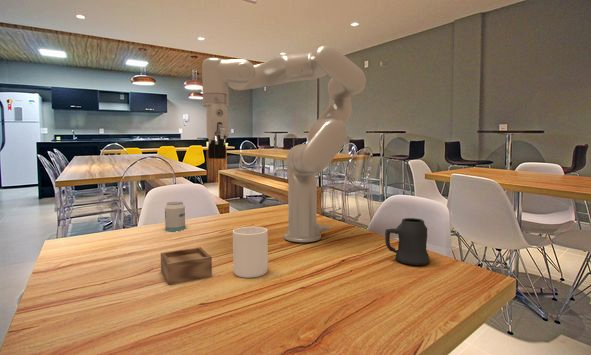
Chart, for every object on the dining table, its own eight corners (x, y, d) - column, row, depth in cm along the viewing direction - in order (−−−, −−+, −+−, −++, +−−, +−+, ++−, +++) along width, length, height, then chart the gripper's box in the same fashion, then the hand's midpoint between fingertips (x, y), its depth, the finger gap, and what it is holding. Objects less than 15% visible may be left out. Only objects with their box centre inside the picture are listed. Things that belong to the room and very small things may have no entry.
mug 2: (422, 254, 98) (423, 217, 97) (434, 264, 89) (436, 223, 88) (381, 254, 98) (382, 216, 97) (389, 264, 89) (390, 223, 88)
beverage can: (181, 237, 120) (180, 204, 119) (162, 237, 120) (161, 204, 119) (188, 232, 127) (187, 201, 126) (170, 232, 127) (169, 201, 126)
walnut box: (200, 266, 89) (200, 247, 89) (211, 278, 81) (211, 257, 80) (161, 273, 84) (160, 252, 84) (168, 286, 75) (167, 263, 75)
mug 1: (273, 263, 91) (273, 224, 90) (263, 279, 79) (263, 234, 78) (242, 262, 92) (242, 223, 91) (228, 277, 80) (227, 233, 79)
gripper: (235, 98, 94) (236, 158, 95) (221, 106, 110) (222, 158, 111) (208, 96, 91) (209, 158, 92) (198, 104, 107) (199, 158, 108)
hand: (216, 158), depth 101 cm, fingers open, 9 cm apart
